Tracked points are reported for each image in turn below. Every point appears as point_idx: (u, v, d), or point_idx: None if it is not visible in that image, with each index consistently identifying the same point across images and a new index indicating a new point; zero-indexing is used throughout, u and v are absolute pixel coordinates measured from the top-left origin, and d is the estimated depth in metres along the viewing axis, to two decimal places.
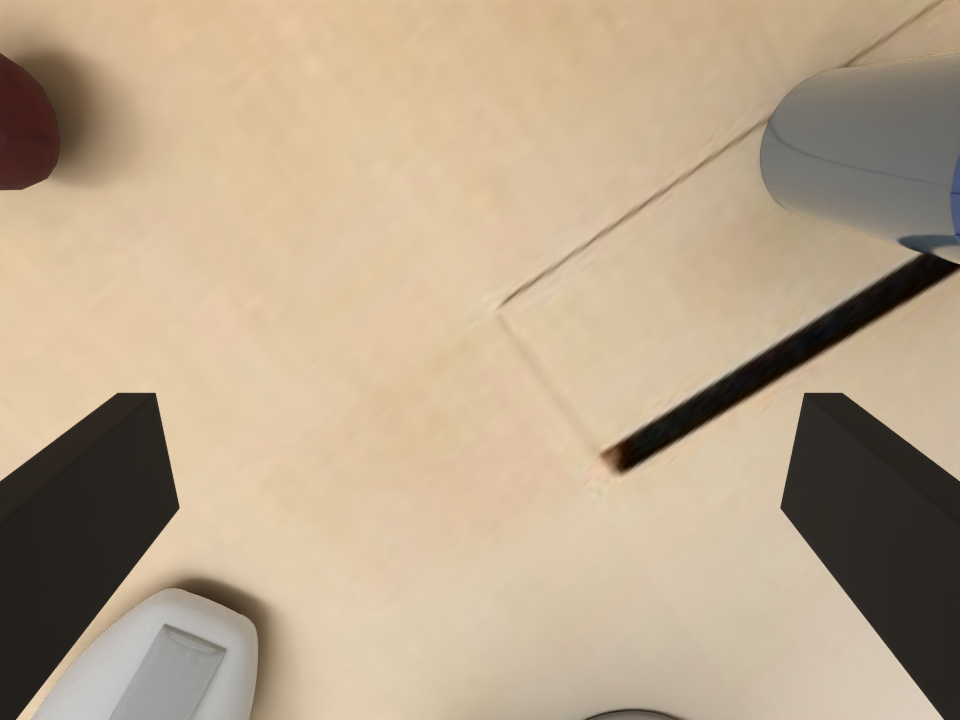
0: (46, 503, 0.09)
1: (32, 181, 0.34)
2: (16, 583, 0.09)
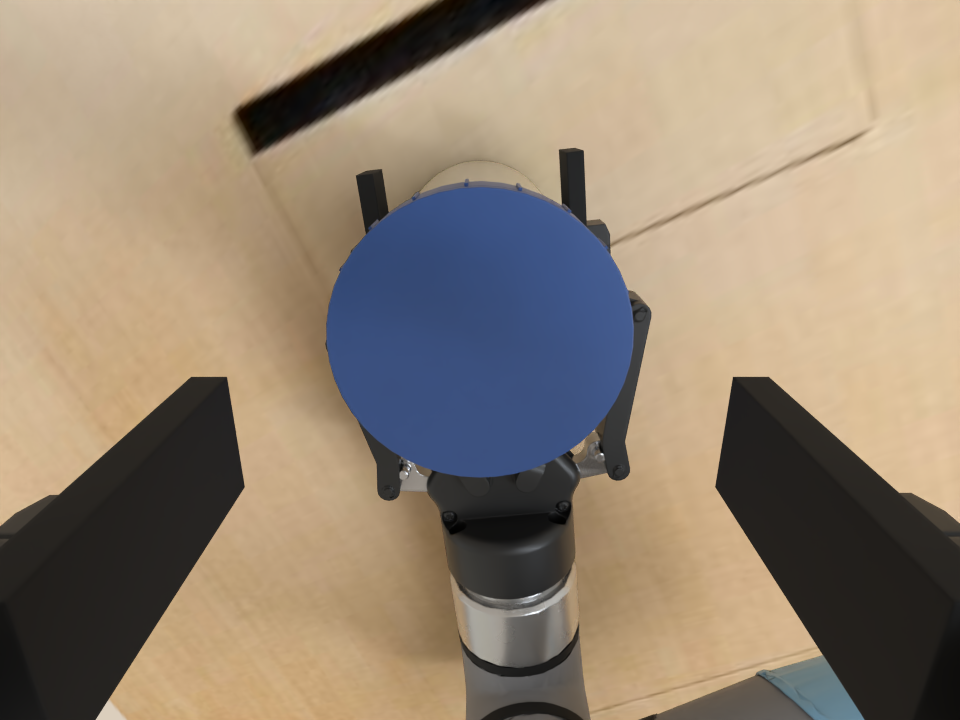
0: (147, 474, 0.10)
1: None
2: (126, 545, 0.09)
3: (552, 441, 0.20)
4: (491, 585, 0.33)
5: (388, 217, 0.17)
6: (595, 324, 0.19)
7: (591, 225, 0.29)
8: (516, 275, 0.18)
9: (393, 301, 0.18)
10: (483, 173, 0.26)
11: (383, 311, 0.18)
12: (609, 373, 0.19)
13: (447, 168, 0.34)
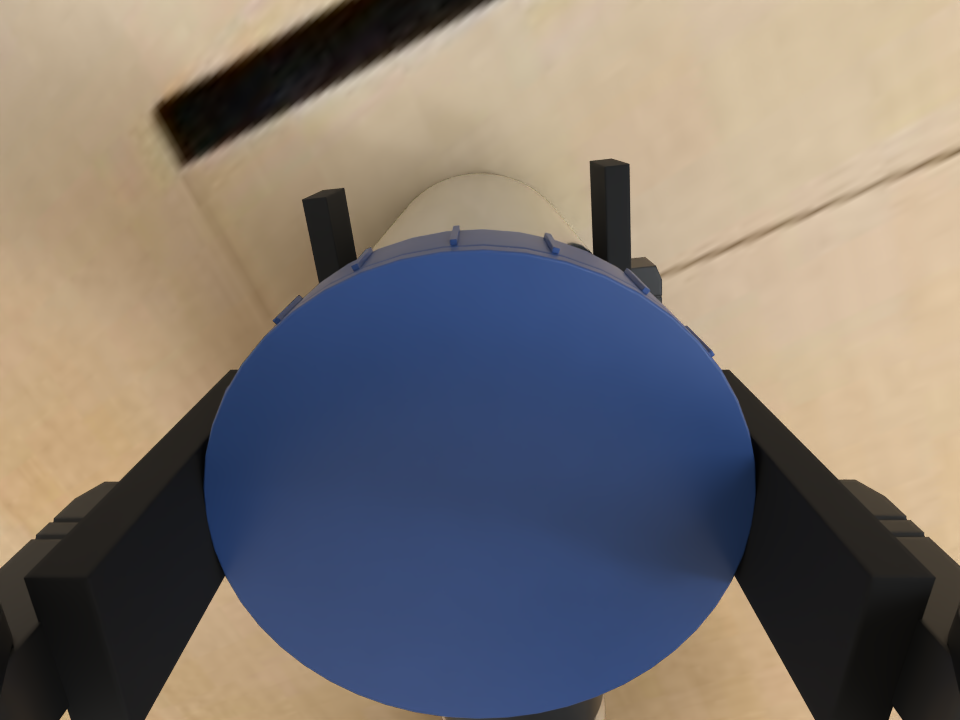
0: (201, 461, 0.10)
1: None
2: (183, 529, 0.10)
3: (603, 667, 0.12)
4: None
5: (305, 305, 0.09)
6: (687, 488, 0.10)
7: (636, 267, 0.21)
8: (547, 407, 0.10)
9: (323, 451, 0.10)
10: (485, 198, 0.18)
11: (304, 467, 0.10)
12: (707, 566, 0.11)
13: (437, 183, 0.26)
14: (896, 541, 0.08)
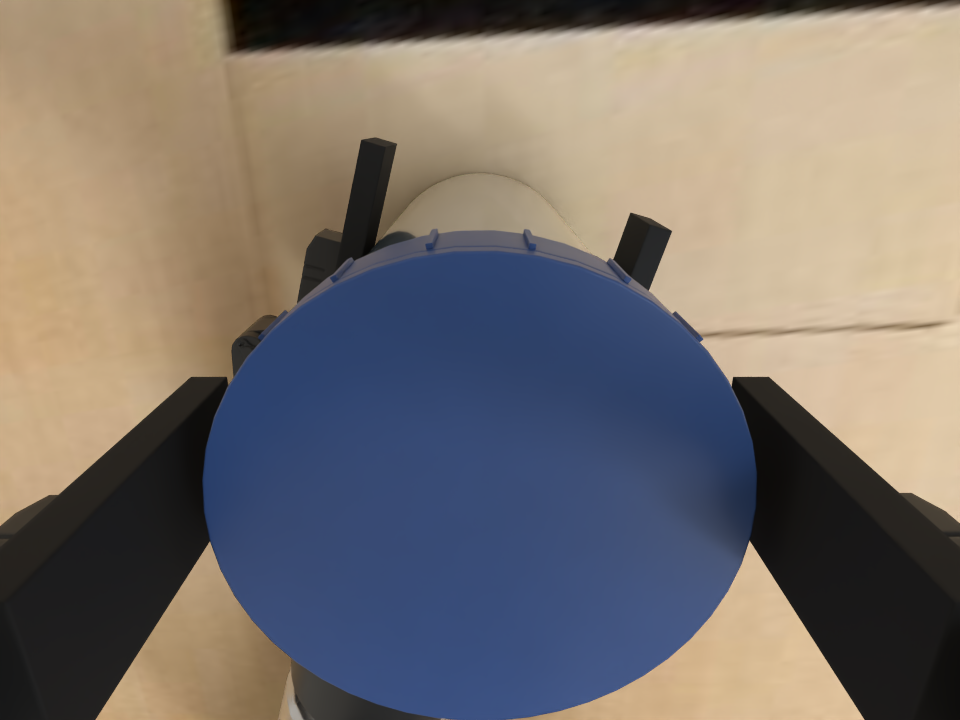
0: (148, 474, 0.10)
1: None
2: (126, 545, 0.09)
3: (708, 432, 0.10)
4: None
5: (247, 610, 0.11)
6: (474, 326, 0.09)
7: None
8: (358, 451, 0.10)
9: (382, 627, 0.11)
10: (537, 209, 0.18)
11: (395, 643, 0.11)
12: (587, 309, 0.09)
13: (473, 173, 0.26)
14: None
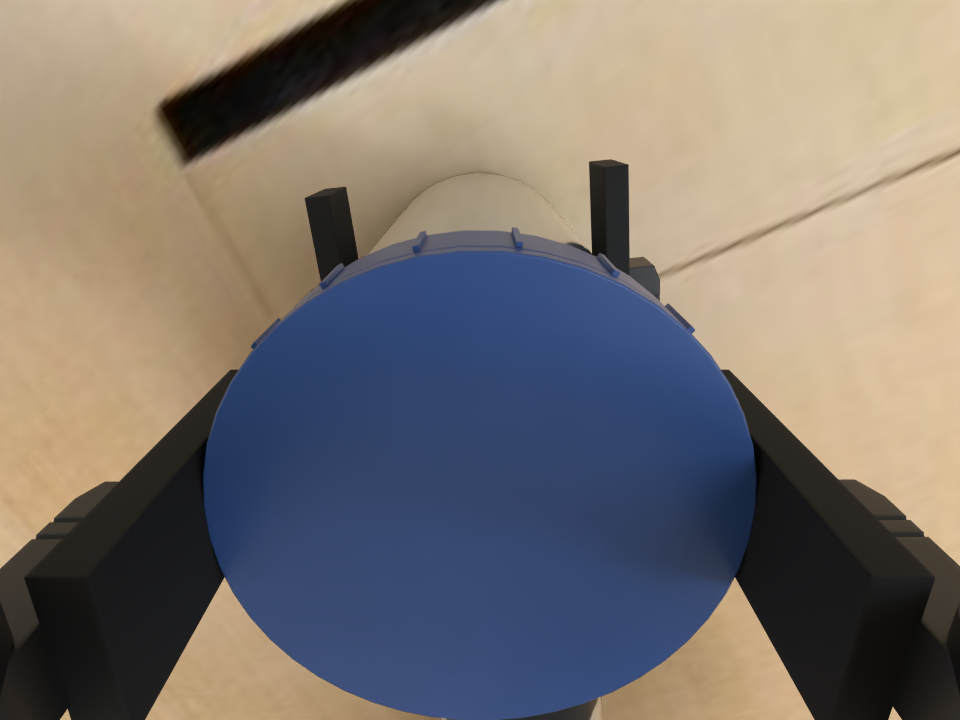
0: (201, 461, 0.10)
1: None
2: (183, 529, 0.10)
3: (660, 362, 0.09)
4: None
5: (309, 668, 0.12)
6: (389, 343, 0.09)
7: (634, 267, 0.21)
8: (338, 494, 0.10)
9: (435, 647, 0.12)
10: (485, 197, 0.18)
11: (454, 659, 0.12)
12: (486, 288, 0.09)
13: (437, 183, 0.26)
14: (895, 541, 0.08)
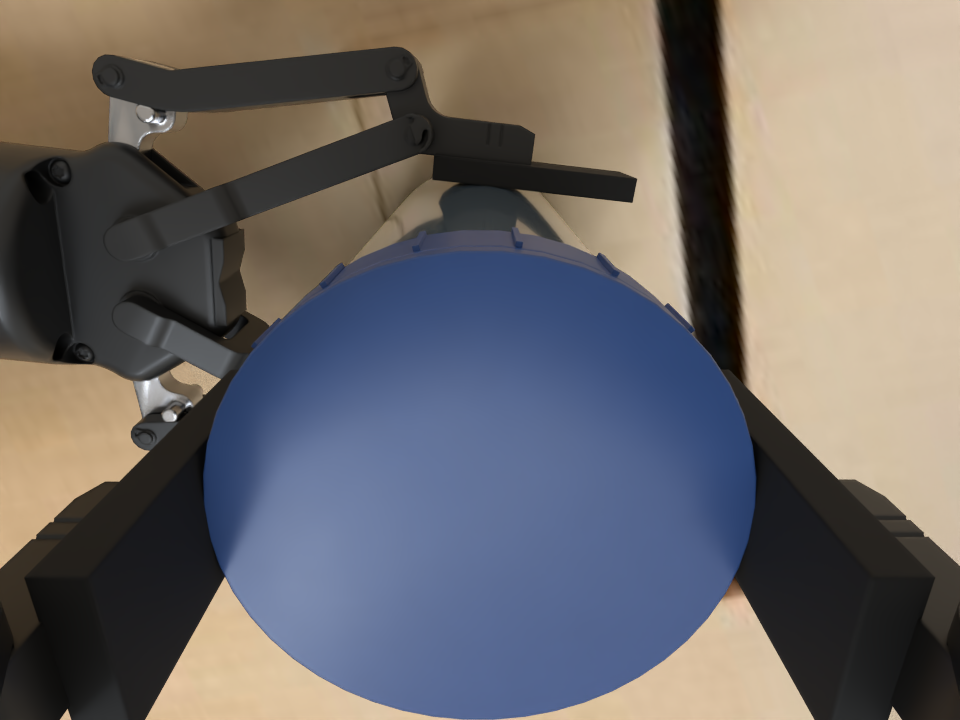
0: (201, 461, 0.10)
1: None
2: (183, 529, 0.10)
3: (660, 361, 0.09)
4: None
5: (309, 667, 0.12)
6: (389, 343, 0.09)
7: None
8: (338, 493, 0.10)
9: (434, 647, 0.12)
10: None
11: (454, 658, 0.12)
12: (485, 288, 0.09)
13: None
14: (894, 541, 0.08)
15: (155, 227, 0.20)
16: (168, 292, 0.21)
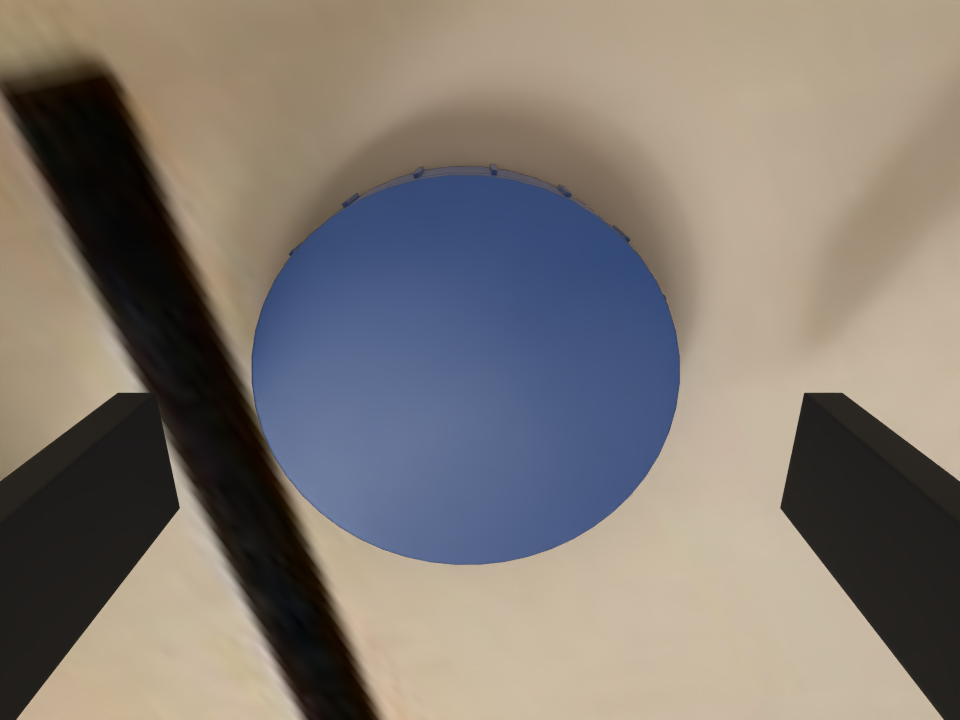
0: (46, 503, 0.09)
1: None
2: (16, 583, 0.09)
3: (602, 262, 0.12)
4: None
5: (333, 520, 0.15)
6: (396, 248, 0.12)
7: None
8: (357, 371, 0.13)
9: (432, 501, 0.15)
10: None
11: (447, 511, 0.15)
12: (469, 204, 0.12)
13: None
14: None
15: None
16: None
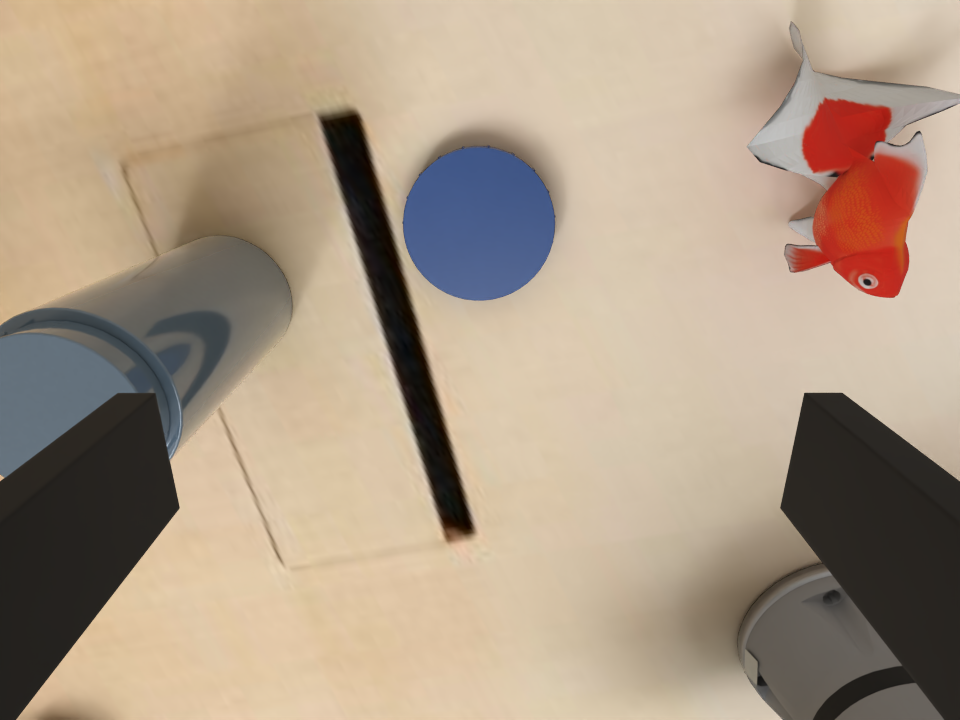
0: (46, 503, 0.09)
1: None
2: (16, 583, 0.09)
3: (525, 177, 0.37)
4: None
5: (428, 279, 0.39)
6: (456, 172, 0.37)
7: None
8: (440, 217, 0.38)
9: (466, 271, 0.39)
10: (244, 362, 0.34)
11: (471, 275, 0.39)
12: (480, 157, 0.36)
13: (287, 286, 0.41)
14: None
15: None
16: None
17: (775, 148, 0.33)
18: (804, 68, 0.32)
